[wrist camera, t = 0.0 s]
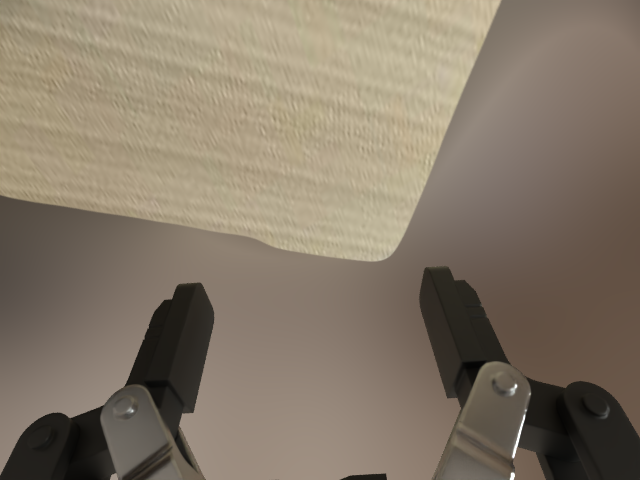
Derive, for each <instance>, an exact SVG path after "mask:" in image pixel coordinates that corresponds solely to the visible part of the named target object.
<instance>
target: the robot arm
mask: <svg viewBox="0 0 640 480" xmlns="http://www.w3.org/2000/svg"><path fill="white" fill-rule="evenodd" d="M420 308H421V312H422V316H423V319H424V322H425V326H426V329H427V332H428V336H429V339H430V342H431V345H432V349H433V352H434V356H435V359H436V362H437V366H438V368H439V372H440V376H441V379H442V382H443V385H444V389H445V392H446V396H447V398H458V401H459V404H460V407H461V410H460V412H459V415H458V417H457V419H456V422H455V424H454V427H453V429H452V432H451V434H450V437H449V439H448V442H447V444H446V447H445V449H444V451H443V454H442V456H441V459H440V461H439V464H438V466H437V468H436V470H435V473H434V475H433V477H432V480H513V477H514V471H515V470H514V469H515V467H514V465H513V459H514V455H515V451H516V448H517V447H520V448H524V449H527V450H530V451H534V452H536V455H537V457H538V460H539V463H540V465H541V468H542V470H543V473H544V476H545V478H546V480H640V438H639V436H638V434H637V433H636V431H635V429H634V428H633V426H632V424H631V423H630V421H629V419H628V417H627V416H626V414H625V412H624V411H623V409H622V407H621V406H620V404H619V403H618V401H617V400H616V399H615V398H614V397H613V396H612V395H611V394H610V393H608V392H607V391H606V390H604V389H603V388H601V387H599V386H597V385H595V384H592V383H589V382H583V381H579V382H573V383H571V384H569V385H568V386H567V387H566V388H563V387H559V386H555V385H550V384H546V383H542V382H538V381H535V380H532V379H530V378H527V377H526V376H524V375H523V374H522V373H521V372H520V371H519V370H518V369H516V368H515V367H513V366H512V365H511V364H510V363H509V361H508V360H507V358H506V356H505V354H504V352H503V350H502V347H501V345H500V343H499V341H498V339H497V337H496V334H495V332H494V330H493V328H492V326H491V324H490V321H489V319H488V318H487V316H486V313H485V311H484V308H483V307H482V306H481V302H480V300H479V298H478V295H477V293H476V291H475V290H474V289H473V288H472V287H471V286H470V285H469V284H468V283H467V282H466V281H465V280H458V281H454V278H453V276H452V273H451V271H450V269H449V267H447V266H440V267H426V268H425V270H424V274H423V279H422V285H421V290H420ZM213 324H214V311H213V307H212V305H211V303H210V301H209V299H208V296H207V294H206V292H205V289H204V287H203V285H202V284H201V283H187V284H179V285H178V286H177V287H176V290H175V292H174V295H173V298H172V300H164V301H163V302H162V303H161V305H160V306H159V307H158V308H157V309H156V311H155V312H154V314H153V316H152V319H151V321H150V324H149V329H147V332H146V334H145V339H144V340H143V342H142V345H141V347H140V350H139V352H138V355H137V357H136V360H135V363H134V365H133V368H132V370H131V373H130V376H129V378H128V380H127V383H126V385H125V386H124V387H123V388H121V389H120V390H118V391H117V392H115V393H114V394H113V395H112V396H111V397H110V398H109V399H108V401H107V402H106V403H105V405H103V406H101V407H99V408H96V409H94V410H91V411H88V412H86V413H83V414H80V415H78V416H75V417H73V418H68V416H66V415H65V414H62V413H51V414H48V415H45V416H43V417H41V418H39V419H38V420H36V421H35V422H34V423H32V424H31V425H30V426H29V427H28V428H27V429H26V430H25V431H24V432H23V434H22V435H21V436H20V438H19V440H18V442H17V443H16V446H15V448H14V449H13V451H12V454H11V455H10V457H9V460H8V461H7V463H6V465H5V467H4V469H3V471H2V473H1V475H0V480H110V477H111V475H112V474H114V473H117V477H118V480H206V479H205V477H204V476H203V474H202V472H201V470H200V468H199V466H198V464H197V462H196V459H195V458H194V455H193V453H192V451H191V449H190V447H189V445H188V443H187V441H186V439H185V437H184V434H183V432H182V430H181V428H180V427H179V423H180V419H181V415H182V413H193V412H194V408H195V403H196V399H197V395H198V390H199V386H200V381H201V377H202V373H203V368H204V364H205V360H206V355H207V350H208V346H209V342H210V337H211V333H212V329H213ZM341 480H387V477H386V474H370V475H352V476H348V477H346V478H343V479H341Z"/></svg>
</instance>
